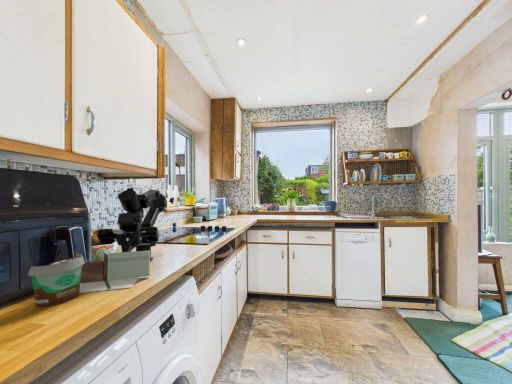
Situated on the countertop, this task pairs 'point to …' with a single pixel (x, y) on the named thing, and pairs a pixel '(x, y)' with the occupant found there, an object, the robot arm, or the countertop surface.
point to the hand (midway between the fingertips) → (124, 256)
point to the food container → (57, 281)
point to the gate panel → (128, 264)
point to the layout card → (108, 285)
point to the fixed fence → (95, 271)
